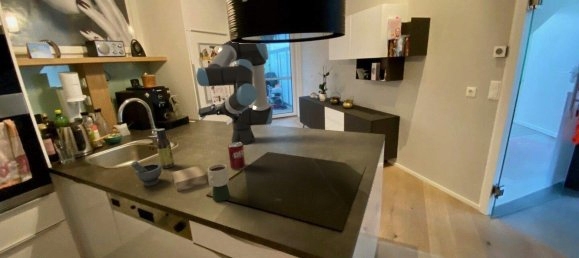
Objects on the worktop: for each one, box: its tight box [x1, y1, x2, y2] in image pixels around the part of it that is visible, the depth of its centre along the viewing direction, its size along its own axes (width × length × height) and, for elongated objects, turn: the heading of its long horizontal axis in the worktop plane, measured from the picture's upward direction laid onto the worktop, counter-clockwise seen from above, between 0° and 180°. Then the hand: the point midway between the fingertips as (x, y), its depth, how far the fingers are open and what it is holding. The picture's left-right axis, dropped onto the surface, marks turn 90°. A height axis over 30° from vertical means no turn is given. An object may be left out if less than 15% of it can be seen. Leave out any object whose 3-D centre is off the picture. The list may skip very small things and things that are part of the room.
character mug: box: [207, 163, 231, 202], centre depth 90 cm, size 11×7×13 cm, turn 161°
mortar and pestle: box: [130, 160, 162, 187], centre depth 105 cm, size 11×9×12 cm
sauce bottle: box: [155, 128, 175, 169], centre depth 121 cm, size 6×6×20 cm
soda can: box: [227, 142, 246, 171], centre depth 117 cm, size 7×7×12 cm
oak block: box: [171, 165, 208, 192], centre depth 105 cm, size 12×12×4 cm
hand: (214, 120), depth 117 cm, fingers open, 13 cm apart
